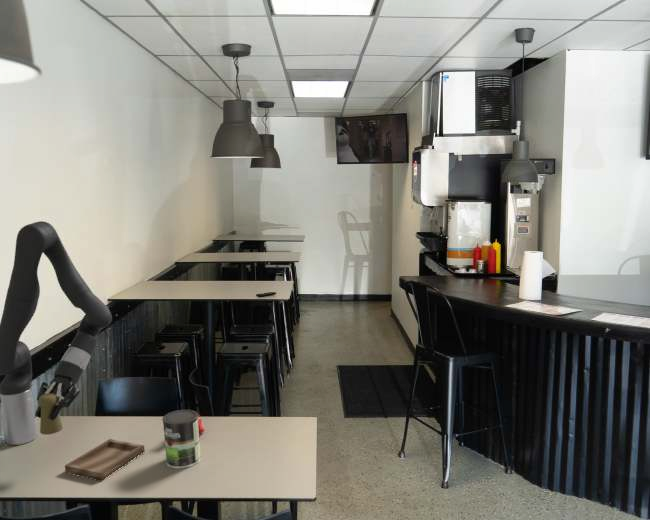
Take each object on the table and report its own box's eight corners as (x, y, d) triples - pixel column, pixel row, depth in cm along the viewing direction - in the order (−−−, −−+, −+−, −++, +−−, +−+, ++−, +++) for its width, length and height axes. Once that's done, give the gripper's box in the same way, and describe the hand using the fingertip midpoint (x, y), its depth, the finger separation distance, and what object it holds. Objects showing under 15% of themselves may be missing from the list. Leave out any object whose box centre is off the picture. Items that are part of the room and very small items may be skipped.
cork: (53, 435, 171) (49, 399, 169) (35, 433, 172) (31, 398, 171) (66, 426, 177) (63, 391, 175) (49, 425, 178) (45, 390, 176)
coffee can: (184, 472, 171) (180, 426, 169) (159, 464, 176) (154, 419, 174) (208, 456, 179) (205, 412, 177) (184, 449, 185) (180, 407, 183)
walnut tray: (65, 473, 173) (64, 465, 173) (110, 446, 190) (109, 439, 189) (101, 481, 168) (101, 473, 167) (144, 452, 184) (144, 445, 184)
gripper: (47, 357, 181) (18, 409, 172) (82, 362, 175) (53, 416, 166) (63, 368, 187) (35, 419, 178) (97, 373, 181) (70, 426, 172)
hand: (44, 417), depth 172 cm, fingers closed on cork, 4 cm apart
